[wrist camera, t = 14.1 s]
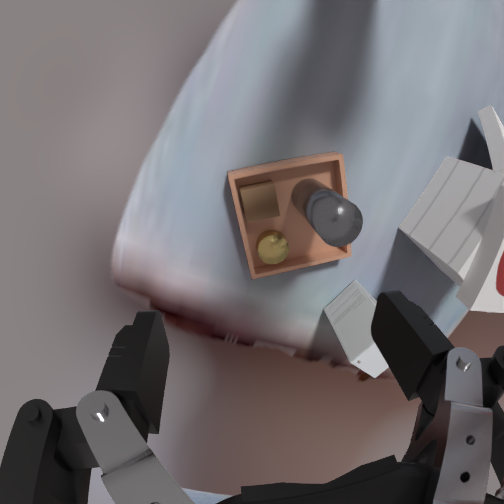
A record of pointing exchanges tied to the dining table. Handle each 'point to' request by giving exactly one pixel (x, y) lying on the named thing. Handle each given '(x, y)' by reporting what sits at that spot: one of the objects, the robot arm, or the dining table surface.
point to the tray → (289, 211)
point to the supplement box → (356, 328)
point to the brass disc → (272, 247)
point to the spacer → (327, 212)
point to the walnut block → (259, 201)
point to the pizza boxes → (466, 222)
